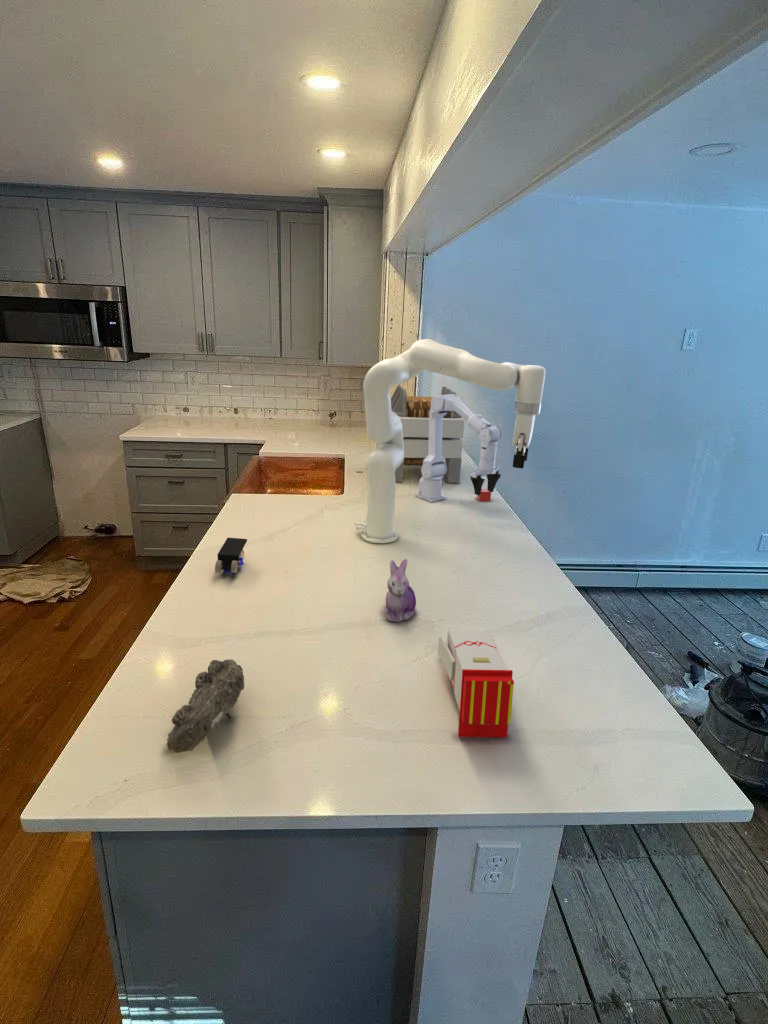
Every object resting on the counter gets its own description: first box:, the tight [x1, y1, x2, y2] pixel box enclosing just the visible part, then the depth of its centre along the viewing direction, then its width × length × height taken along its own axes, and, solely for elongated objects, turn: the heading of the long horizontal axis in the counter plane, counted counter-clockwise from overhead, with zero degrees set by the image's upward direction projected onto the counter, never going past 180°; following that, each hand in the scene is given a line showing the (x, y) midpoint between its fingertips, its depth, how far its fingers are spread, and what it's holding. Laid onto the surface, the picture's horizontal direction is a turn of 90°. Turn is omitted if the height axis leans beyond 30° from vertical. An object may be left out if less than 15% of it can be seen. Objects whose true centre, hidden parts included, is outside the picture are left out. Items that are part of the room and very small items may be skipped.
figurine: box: [384, 558, 417, 623], centre depth 145 cm, size 9×10×15 cm
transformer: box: [390, 384, 466, 484], centre depth 268 cm, size 34×33×41 cm
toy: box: [437, 628, 515, 738], centre depth 117 cm, size 12×13×30 cm
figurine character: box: [214, 537, 248, 578], centre depth 166 cm, size 7×8×15 cm
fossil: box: [166, 658, 245, 754], centre depth 106 cm, size 22×10×15 cm
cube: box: [476, 488, 492, 502], centre depth 240 cm, size 4×5×4 cm
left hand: (519, 463), depth 174 cm, fingers open, 9 cm apart
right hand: (483, 493), depth 217 cm, fingers open, 7 cm apart
